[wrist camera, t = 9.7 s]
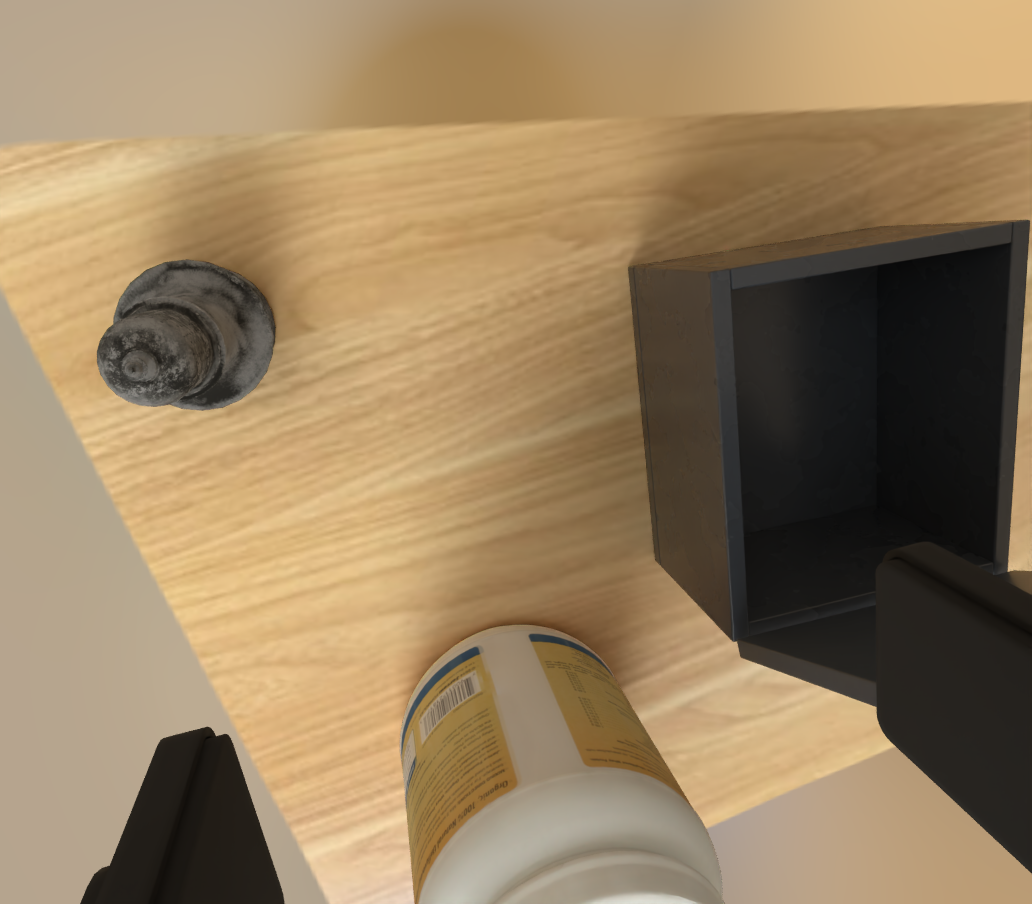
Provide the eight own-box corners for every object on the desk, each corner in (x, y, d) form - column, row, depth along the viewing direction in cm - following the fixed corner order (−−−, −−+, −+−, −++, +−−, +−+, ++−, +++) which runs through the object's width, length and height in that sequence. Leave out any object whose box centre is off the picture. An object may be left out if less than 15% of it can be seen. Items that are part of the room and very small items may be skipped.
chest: (627, 266, 35) (710, 271, 27) (880, 226, 37) (1031, 219, 29) (654, 560, 39) (732, 643, 31) (878, 509, 42) (1008, 574, 33)
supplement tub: (428, 835, 41) (470, 1206, 25) (372, 652, 38) (379, 951, 22) (630, 769, 43) (790, 1078, 27) (595, 587, 39) (756, 820, 23)
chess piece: (202, 228, 31) (110, 216, 19) (310, 327, 33) (283, 367, 21) (109, 329, 31) (-36, 374, 20) (221, 420, 33) (149, 509, 22)
